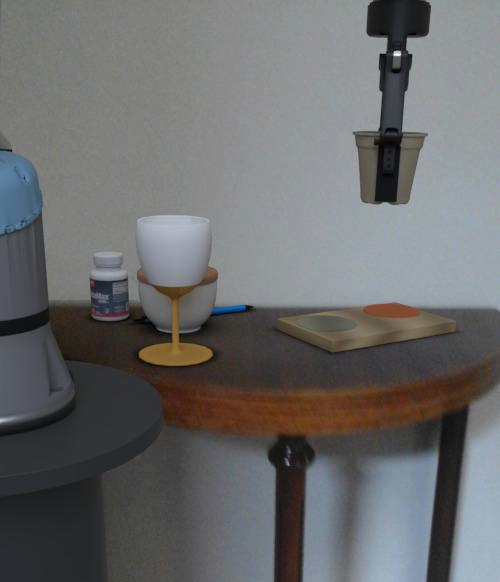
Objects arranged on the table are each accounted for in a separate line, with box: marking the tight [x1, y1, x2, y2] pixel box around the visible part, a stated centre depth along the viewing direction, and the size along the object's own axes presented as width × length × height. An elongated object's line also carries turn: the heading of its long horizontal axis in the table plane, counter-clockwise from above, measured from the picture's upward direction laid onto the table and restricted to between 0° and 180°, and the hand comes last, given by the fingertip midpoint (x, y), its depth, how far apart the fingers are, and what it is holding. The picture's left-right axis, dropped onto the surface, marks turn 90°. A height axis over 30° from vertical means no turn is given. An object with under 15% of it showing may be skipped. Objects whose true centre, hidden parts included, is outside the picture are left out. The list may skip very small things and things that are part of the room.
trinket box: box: [136, 265, 219, 334], centre depth 111 cm, size 11×11×9 cm
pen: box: [132, 304, 255, 324], centre depth 118 cm, size 1×19×1 cm
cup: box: [135, 214, 214, 367], centre depth 98 cm, size 9×9×16 cm
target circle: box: [363, 303, 420, 318], centre depth 117 cm, size 8×8×1 cm
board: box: [276, 301, 457, 354], centre depth 113 cm, size 21×13×2 cm, turn 121°
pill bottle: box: [89, 251, 130, 322], centre depth 116 cm, size 5×5×9 cm
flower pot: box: [352, 130, 429, 206], centre depth 106 cm, size 9×9×9 cm
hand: (384, 197), depth 108 cm, fingers closed on flower pot, 8 cm apart
